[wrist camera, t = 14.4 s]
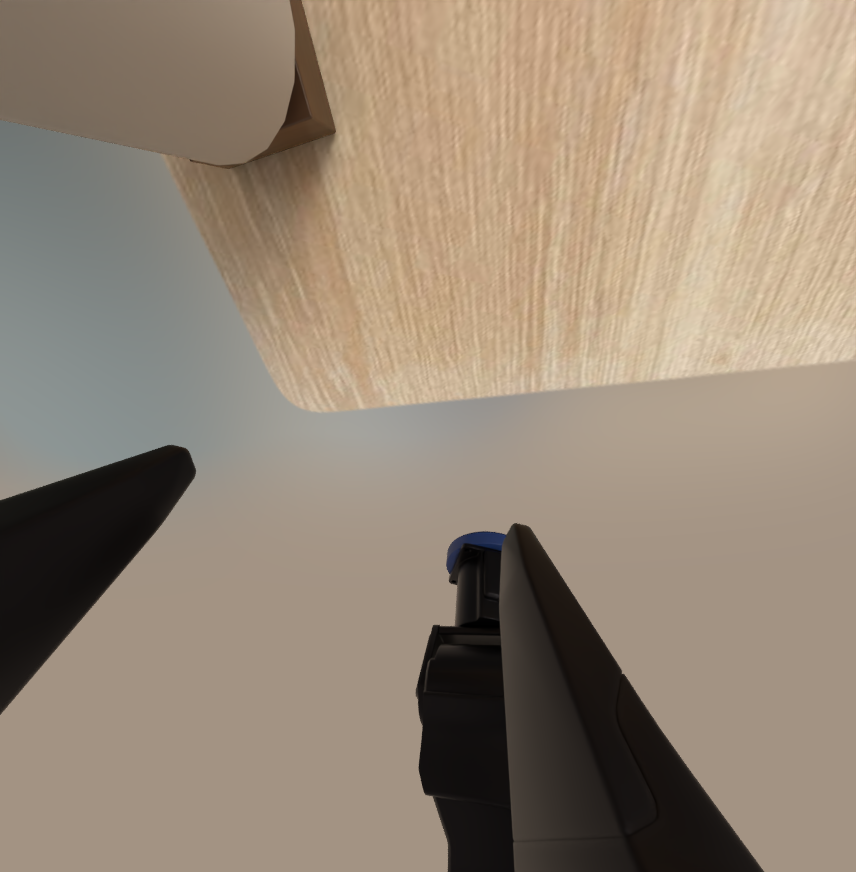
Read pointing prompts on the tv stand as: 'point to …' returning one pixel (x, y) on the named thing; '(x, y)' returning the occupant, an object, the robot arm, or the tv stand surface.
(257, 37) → the can
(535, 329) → the tv stand surface
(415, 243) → the tv stand surface
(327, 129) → the walnut block
